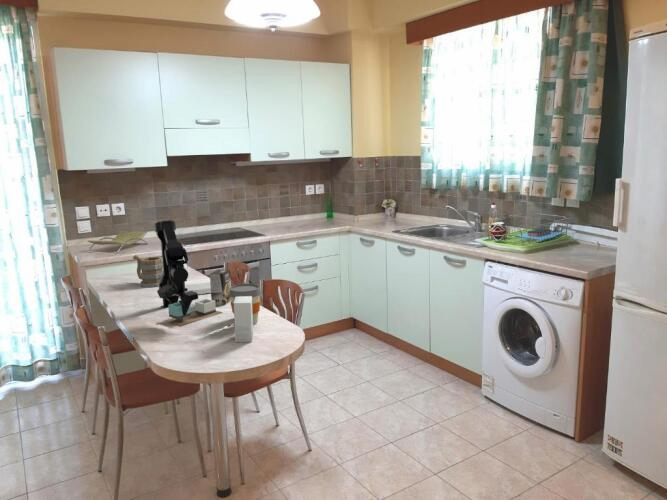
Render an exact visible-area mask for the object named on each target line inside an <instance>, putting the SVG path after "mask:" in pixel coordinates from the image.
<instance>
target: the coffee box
mask: <svg viewBox="0 0 667 500" xmlns="http://www.w3.org/2000/svg"><path fill="white" fill-rule="evenodd" d="M209 277H210V285H211V293H210V300H213V301H215V305H216V306H219V307H224V306H226V305H228V304H229V303H231V297H230V287H232V282H231V280H232V278H231V269H223V268H222V269H216V270H214V271H212V272H210V273H209Z"/></svg>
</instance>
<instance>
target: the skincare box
mask: <svg viewBox="0 0 667 500" xmlns="http://www.w3.org/2000/svg"><path fill="white" fill-rule="evenodd" d="M233 315H234V322H233V323H234V340H235V341H234V342H235V344H236V343H252V342H253V338H254V325H253V315H252V296H240V297H235V300H234V313H233Z"/></svg>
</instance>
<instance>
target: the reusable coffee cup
mask: <svg viewBox="0 0 667 500" xmlns="http://www.w3.org/2000/svg"><path fill="white" fill-rule="evenodd" d="M261 293H262V291H261V286H260V285H258V284H256V283H240V284H235V285H231V287H230V297H231V301H230V307H231V312H232V314H234V300H235V297H240V296H252V315H253V326H255V325H257V324H258V321H259V312H260V309H261V299H260V296H261Z"/></svg>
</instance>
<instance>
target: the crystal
mask: <svg viewBox="0 0 667 500" xmlns="http://www.w3.org/2000/svg"><path fill="white" fill-rule="evenodd" d="M185 288H187V289H188V291H185V292H189V291H193V292H196V293H198V295H204V294H206V293H207V294H211V285H210V278H202V279H192V280H191V279H190V280H187V281H185Z"/></svg>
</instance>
